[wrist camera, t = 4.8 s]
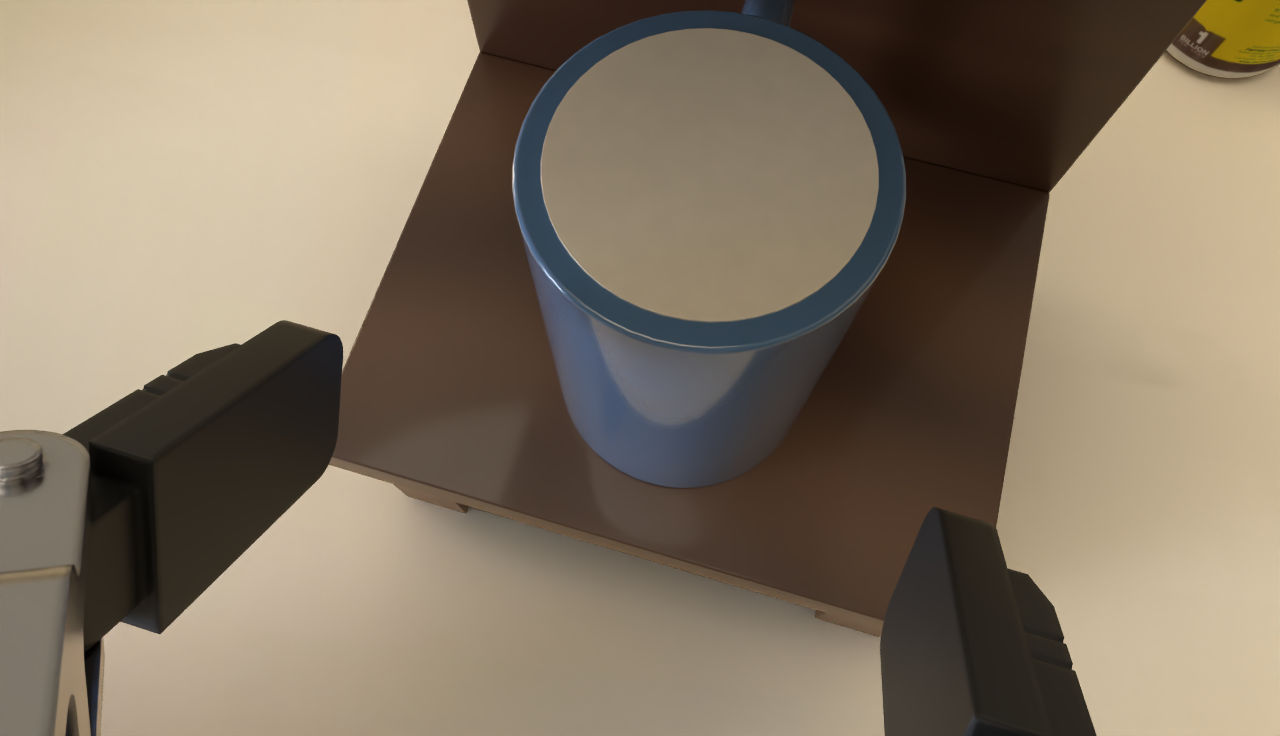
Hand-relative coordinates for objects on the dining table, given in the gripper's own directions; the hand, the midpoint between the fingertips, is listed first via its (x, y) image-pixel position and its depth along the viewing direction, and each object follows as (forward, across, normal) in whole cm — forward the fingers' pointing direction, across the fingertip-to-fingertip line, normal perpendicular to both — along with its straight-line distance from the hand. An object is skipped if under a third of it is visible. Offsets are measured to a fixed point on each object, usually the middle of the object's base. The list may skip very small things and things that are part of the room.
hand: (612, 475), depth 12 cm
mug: (+11, 0, +2) cm, 11 cm away
